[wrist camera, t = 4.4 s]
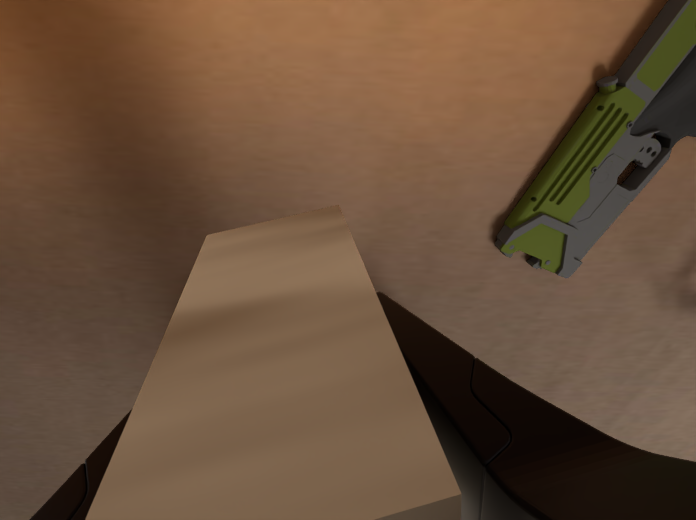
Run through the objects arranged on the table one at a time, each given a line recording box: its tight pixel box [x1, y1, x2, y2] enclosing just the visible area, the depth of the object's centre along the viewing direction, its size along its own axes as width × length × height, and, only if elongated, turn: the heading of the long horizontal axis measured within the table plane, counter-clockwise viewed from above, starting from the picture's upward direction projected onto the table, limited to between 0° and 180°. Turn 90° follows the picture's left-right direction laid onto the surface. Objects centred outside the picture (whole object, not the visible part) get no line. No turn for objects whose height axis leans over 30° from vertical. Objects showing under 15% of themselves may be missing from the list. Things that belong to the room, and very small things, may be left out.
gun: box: [495, 0, 696, 278], centre depth 23 cm, size 2×19×15 cm
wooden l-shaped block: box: [85, 205, 462, 520], centre depth 11 cm, size 16×4×8 cm, turn 10°
